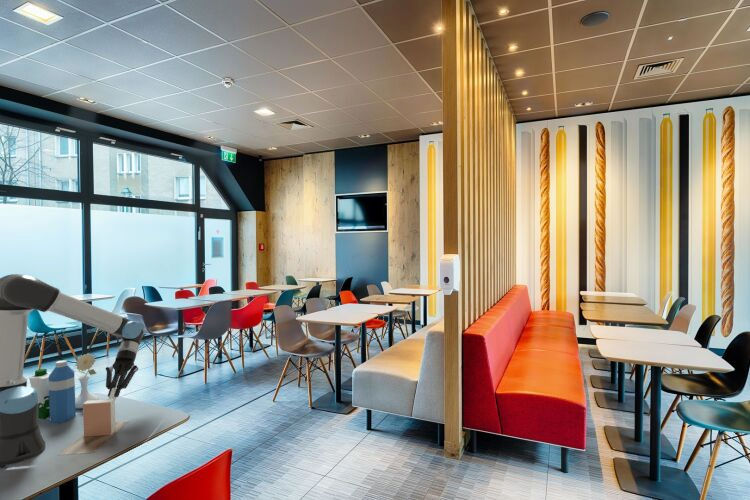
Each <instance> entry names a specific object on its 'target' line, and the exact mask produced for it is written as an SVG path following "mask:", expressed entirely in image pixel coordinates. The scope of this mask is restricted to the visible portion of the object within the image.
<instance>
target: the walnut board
mask: <svg viewBox="0 0 750 500" xmlns="http://www.w3.org/2000/svg"><path fill="white" fill-rule="evenodd" d="M128 423H129V421H115V432H114V433H113V434H112V435H100V436H87V437H84V434H83V435H82V436H80V437H78V439H77V440H75V441H74V442H73V443H71V444H70V445H69V446H68V447H66V448H65V449H64V450H63V451H61V452H60V453H59V454H58V456H66V455H67V456H68V455H81V454H95V453H96V452H97V451H98V450H99V449H100V448H101V447H103V445H104V444H106V443H107V442H108V441H109V440H110V439H111V438H112V437H113V436H115V434H116V433H118V432H119V431H120V430H121V429H122V428H123V427H124V426H125V425H127V424H128Z"/></svg>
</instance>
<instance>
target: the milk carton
mask: <svg viewBox="0 0 750 500" xmlns="http://www.w3.org/2000/svg"><path fill="white" fill-rule="evenodd" d="M51 372H52V371H48V370H47V368H40V369H37V370H34V375H32V376H30V377H29V378H28V379H29V382H30V387H33V388H35V389H36V390H37V394H38V398H39V399H38V418H39V419H42V420H45V419H48V418H50V406H49V375H50V374H51Z"/></svg>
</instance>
